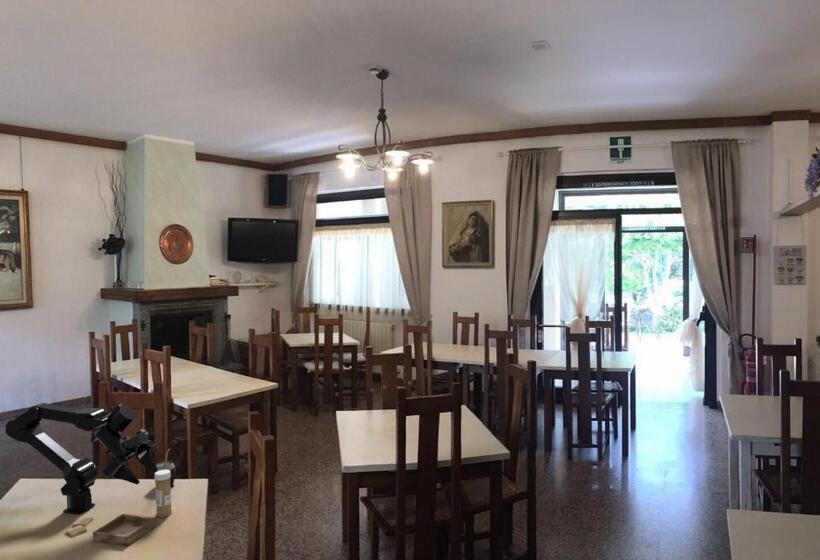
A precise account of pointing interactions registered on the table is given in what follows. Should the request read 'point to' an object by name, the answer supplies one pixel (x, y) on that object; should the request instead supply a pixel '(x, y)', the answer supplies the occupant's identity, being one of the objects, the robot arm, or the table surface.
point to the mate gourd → (167, 468)
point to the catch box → (124, 529)
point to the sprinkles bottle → (163, 493)
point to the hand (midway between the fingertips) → (147, 477)
